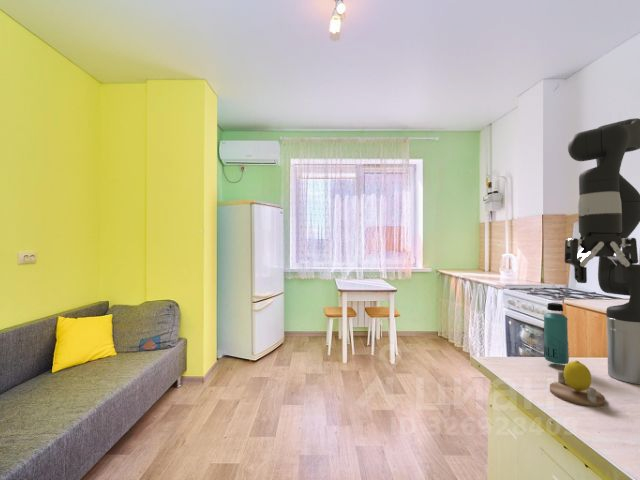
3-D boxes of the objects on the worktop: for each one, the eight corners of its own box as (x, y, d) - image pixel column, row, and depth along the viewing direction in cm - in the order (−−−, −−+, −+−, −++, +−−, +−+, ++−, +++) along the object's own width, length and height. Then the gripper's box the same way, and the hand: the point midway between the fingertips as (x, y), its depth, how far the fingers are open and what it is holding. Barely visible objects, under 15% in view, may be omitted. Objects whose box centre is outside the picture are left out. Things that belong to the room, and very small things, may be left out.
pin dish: (551, 382, 88) (550, 368, 88) (603, 393, 81) (603, 378, 81) (548, 397, 79) (548, 381, 79) (606, 411, 72) (606, 394, 72)
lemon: (597, 398, 77) (596, 365, 77) (571, 396, 78) (571, 364, 78) (582, 387, 82) (582, 357, 82) (559, 386, 83) (558, 356, 83)
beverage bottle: (570, 365, 100) (569, 303, 101) (568, 371, 96) (566, 306, 96) (545, 360, 105) (544, 300, 105) (542, 365, 100) (541, 303, 101)
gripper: (617, 214, 76) (619, 281, 75) (556, 215, 77) (557, 280, 76) (647, 211, 68) (649, 284, 68) (579, 212, 69) (580, 284, 69)
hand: (601, 282), depth 72 cm, fingers open, 8 cm apart
